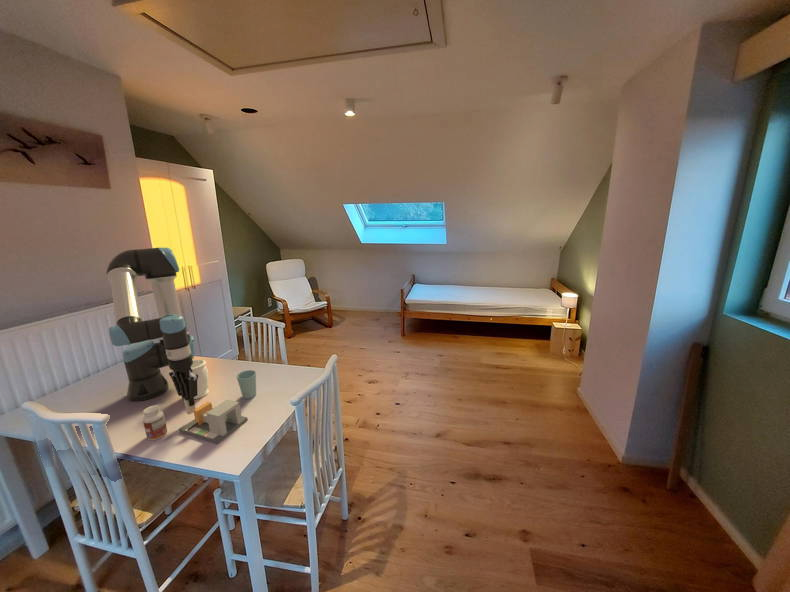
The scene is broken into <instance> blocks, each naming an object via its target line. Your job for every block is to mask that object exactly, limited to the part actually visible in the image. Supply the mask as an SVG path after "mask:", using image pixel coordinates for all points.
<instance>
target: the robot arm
mask: <svg viewBox="0 0 790 592" xmlns="http://www.w3.org/2000/svg"><path fill="white" fill-rule="evenodd" d="M179 272H180V267H179V264H178V261H177V259H176V256H175V254H174V251H173V250H172V249H171V248H170V247H154V248H153V247H150V248H139V249H138V248H137V249H128V250H125V251H124V250H123V251H122V252H119V253H118V254H117V255H115V256H114V257H113V258H112V259H111V260H110V262H109V263H108V266H107V267H106V272H105V273H106V274H105V275H106V278H107V280H108V282H110V285H111V286H110V287H111V293H112V300H113V301H112V302H113V308H114V315H115V325H113V326H110V327H109V328H108V335H109V338H110V341H111V344H112V345H113V346H114V347H122V346H128V347H126V348H124V350H123V351H122V353H121V355H122V359H123V360H122V362H123V363H124V366H125V371H126V375H127V379H128V384H127V385H128V387H127V391H126V395H127V399H128V400H129V401H132V402H141V401H147V400H149V399H150V400H151V399H153V398H156V397H157V396H160V395H162V394H164V393H165V392H167V390H168V389H169V382H168V380H167V379H166V378H165V376H164V374H163V373H162V372H161V369H162V368H166V367H168V368H169V370H171V372H169V373H168V375H169V376H170V378H171V381H172V382H173V385H174V388H175V391H176V393H177V395H178V397H181V398H182V399H183V403H184V404H183V405H184V407H185V411H186V414H187V415H192V414H194V411H193V410H195V409H196V408H197V407H196V402H195V399H194V397H195V396H197V379H198V375H197V374H196V375H194V374H193V373H192V372H193V371H192V369H191V365H192V364H193V360H194V358H195V355H196V354H195V352H196V351H195V339H194V336H193V335H191V334H190V333H189V331H187V327H186V326H187V324H186V321H185V317H184V316H182V313H181V308H180V304H179V298H178V294H177V289H176V285H175V284H176V283H175V279H176V278H177V273H179ZM143 276H144V278H145V280H146V281H147V282H149V283H150V286H151V289H152V295H153V298H154V303H155V307H156V313H157V318H152V319H148V320H147V319H145V320H142V319H143V318H142V313H141V308H140V303H139V296H138V291H137V285H136V280H137V278H138V277H143ZM157 339H159V342H155V341H154V340H157Z"/></svg>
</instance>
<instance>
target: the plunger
mask: <svg viewBox="0 0 790 592" xmlns="http://www.w3.org/2000/svg"><path fill="white" fill-rule="evenodd" d="M195 408H196V409H195V410H193V411H194V412H193V416H194V419H195V421H196V423H195V424H194V425H192V426H191V427H189V428H188V429H187V430H188V431H189V430H190V429H192V428H193V427H195V426H196V425H201V424H203V423H204V422H206V423H208V419H207V414H206V413H207V412H209V411H210V410H212V408H213V404H212V402H210V401H206V402H204V403H202V405H200V406H198V407H195ZM224 419H225V416H224ZM225 422H226V421H225Z"/></svg>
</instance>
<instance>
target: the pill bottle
mask: <svg viewBox="0 0 790 592" xmlns="http://www.w3.org/2000/svg"><path fill="white" fill-rule="evenodd" d="M142 412H143V418H142V423H143V427H144V431H145V435H146V439H148V440H149V441H157V440H159V439H161V438H163V437H164V436H166V434H168V426H167V422H166V419H165V415H164V412H163V411H162V410H161V409H160V405H156V404H155V405H151V406H148V407H146V408H145V409H144V410H143V411H142Z"/></svg>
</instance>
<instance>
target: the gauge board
mask: <svg viewBox="0 0 790 592" xmlns="http://www.w3.org/2000/svg"><path fill="white" fill-rule="evenodd" d="M206 414H207V419H208V423H206V422H204V423H203V424H201V425H196V426H195V427H193V428H192V429H190V430H189V431H188V430H187V429H188V428H189V427H191V426H192V425H194V424H195V423H196V421H195V418H194V419H193V420H191V421H189V422H188V423H186V424H185V425H183V426H182V427H180V428H178V432H179V433H181V434H185V435H189V436H191V437H195V438H198V439H201V440H205V441H207V442H210V443H214V444H216V445H217V444H218V443H220V442H221V441H222V440H224V439H225V438H226V437H228V436H229V435H231V434H232V433H233V432H235V430H237V429H238V428H239V427H241V426H242V425H243V424H245V423H246V422H247V421H248V419H249V418H248V417H247V416H243V415H242V411H241V406H240V402H239V401H236V400H231V399H226V400H224V401H222V402H221V403H220V404H218V405H216V406H215V407H212V410H210V411H209V412H207V413H206ZM224 416H225V419H224ZM225 421H226V422H225Z"/></svg>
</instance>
